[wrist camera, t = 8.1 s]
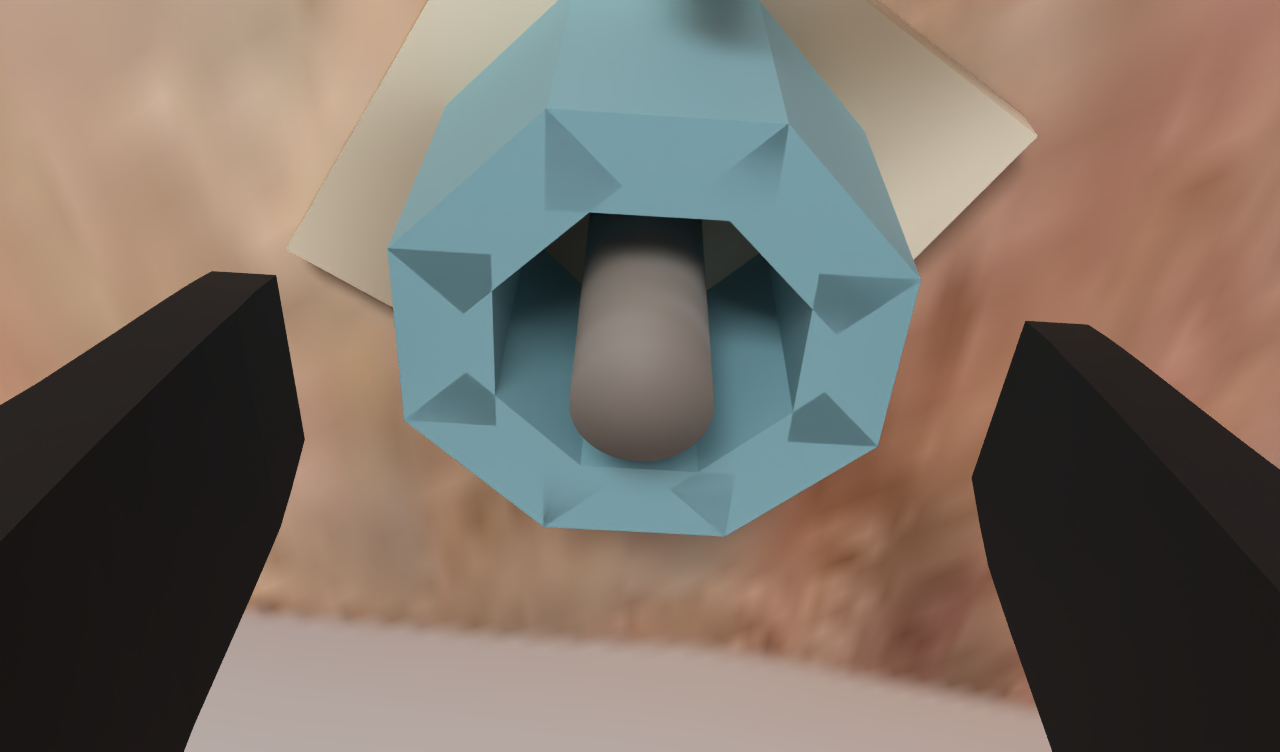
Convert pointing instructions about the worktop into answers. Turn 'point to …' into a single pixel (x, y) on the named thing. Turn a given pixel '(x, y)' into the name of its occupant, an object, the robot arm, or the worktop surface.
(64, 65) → the worktop surface
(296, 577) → the worktop surface
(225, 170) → the worktop surface
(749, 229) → the ring
